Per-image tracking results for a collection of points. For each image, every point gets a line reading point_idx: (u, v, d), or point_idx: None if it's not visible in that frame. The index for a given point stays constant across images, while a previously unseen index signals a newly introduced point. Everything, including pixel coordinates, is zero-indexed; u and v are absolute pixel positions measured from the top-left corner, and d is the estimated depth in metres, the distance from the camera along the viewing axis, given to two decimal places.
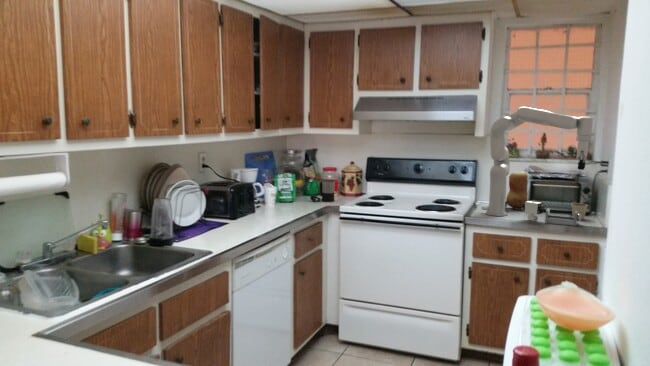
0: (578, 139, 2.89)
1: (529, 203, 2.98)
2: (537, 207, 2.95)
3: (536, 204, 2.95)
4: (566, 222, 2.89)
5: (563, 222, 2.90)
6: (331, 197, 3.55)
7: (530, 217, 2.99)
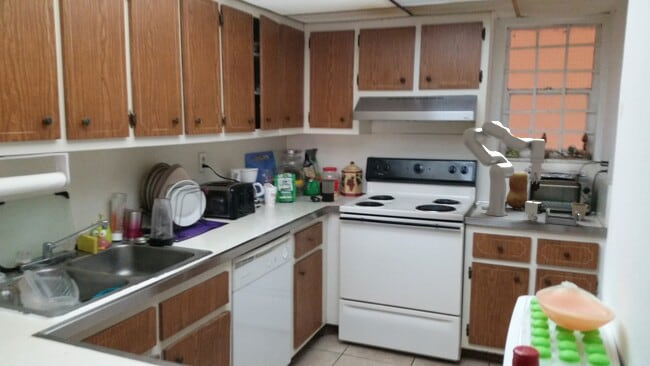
0: (531, 161, 2.95)
1: (529, 203, 2.98)
2: (537, 207, 2.95)
3: (536, 204, 2.95)
4: (566, 222, 2.89)
5: (563, 222, 2.90)
6: (331, 197, 3.55)
7: (530, 217, 2.99)
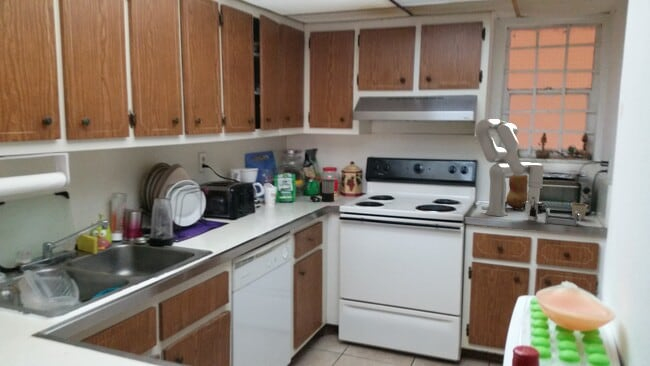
0: (529, 185, 2.97)
1: (530, 203, 2.99)
2: (537, 207, 2.95)
3: (537, 204, 2.95)
4: (566, 222, 2.89)
5: (563, 222, 2.90)
6: (331, 197, 3.55)
7: (530, 217, 2.99)
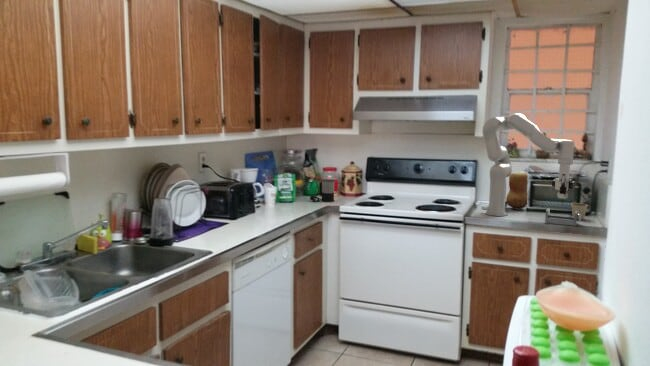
0: (560, 162, 2.89)
1: None
2: (568, 184, 2.88)
3: (567, 181, 2.88)
4: (566, 222, 2.89)
5: (563, 222, 2.90)
6: (331, 197, 3.54)
7: (560, 194, 2.92)
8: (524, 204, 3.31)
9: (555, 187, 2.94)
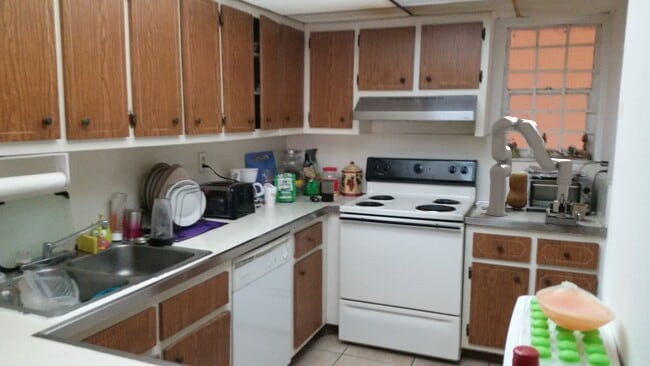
0: (558, 182, 2.91)
1: (558, 202, 2.94)
2: (566, 206, 2.90)
3: (565, 203, 2.90)
4: (566, 222, 2.89)
5: (563, 222, 2.90)
6: (330, 197, 3.54)
7: (559, 216, 2.94)
8: (524, 204, 3.31)
9: (553, 209, 2.95)
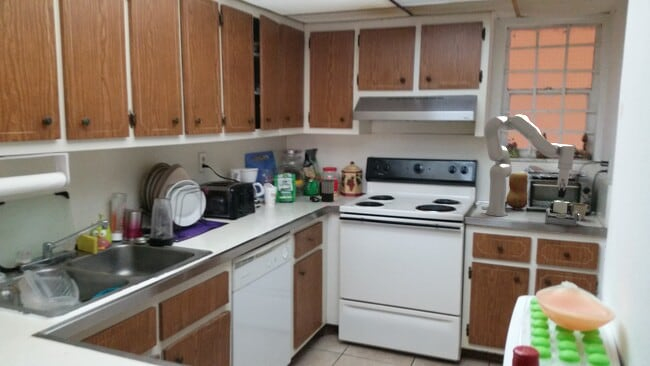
0: (559, 167, 2.90)
1: (558, 202, 2.93)
2: (567, 207, 2.90)
3: (566, 203, 2.90)
4: (566, 222, 2.89)
5: (563, 222, 2.90)
6: (330, 197, 3.54)
7: (559, 217, 2.94)
8: (524, 204, 3.31)
9: (553, 209, 2.95)
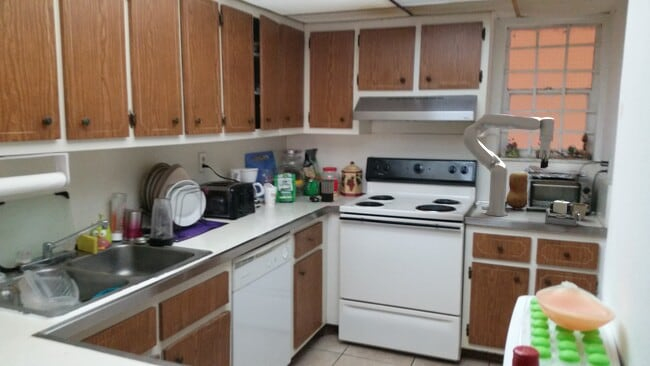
0: (541, 139, 3.02)
1: (558, 203, 2.93)
2: (566, 207, 2.90)
3: (565, 204, 2.90)
4: (566, 222, 2.89)
5: (563, 222, 2.90)
6: (330, 197, 3.54)
7: (559, 217, 2.94)
8: (524, 204, 3.31)
9: (553, 210, 2.95)
